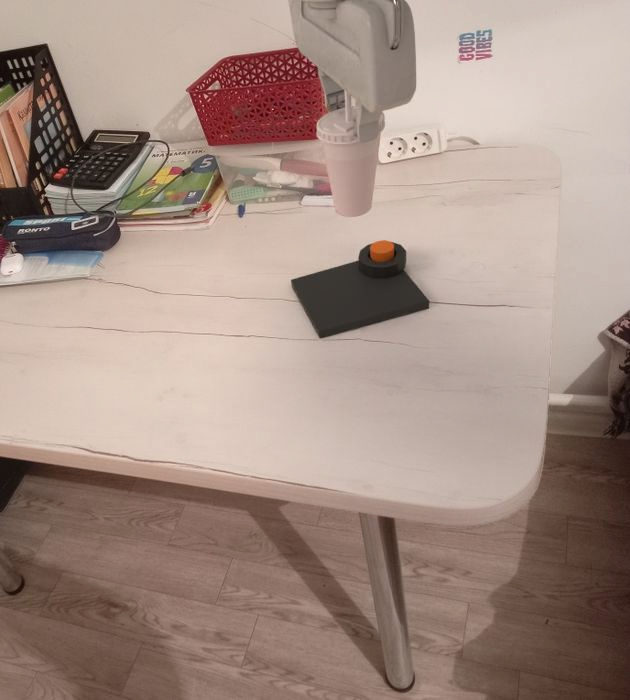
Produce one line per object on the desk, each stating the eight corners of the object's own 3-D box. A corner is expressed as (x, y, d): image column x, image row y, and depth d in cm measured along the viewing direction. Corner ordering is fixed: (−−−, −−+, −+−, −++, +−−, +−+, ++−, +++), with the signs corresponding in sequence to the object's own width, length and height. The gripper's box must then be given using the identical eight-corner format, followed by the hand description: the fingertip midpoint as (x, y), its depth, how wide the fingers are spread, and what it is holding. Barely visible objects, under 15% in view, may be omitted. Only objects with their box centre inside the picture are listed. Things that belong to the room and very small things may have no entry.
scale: (394, 255, 86) (394, 236, 84) (436, 306, 77) (437, 286, 75) (290, 284, 87) (288, 267, 85) (319, 338, 78) (317, 320, 76)
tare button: (388, 247, 84) (388, 237, 83) (398, 258, 81) (397, 249, 80) (366, 253, 84) (366, 244, 83) (375, 265, 82) (375, 255, 81)
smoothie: (317, 224, 65) (306, 91, 56) (327, 192, 69) (319, 64, 60) (381, 224, 62) (380, 84, 53) (388, 190, 66) (389, 56, 57)
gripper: (444, -30, 43) (433, 157, 52) (337, -66, 58) (344, 82, 67) (355, -3, 43) (360, 178, 52) (272, -46, 58) (287, 99, 67)
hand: (350, 123), depth 60 cm, fingers closed on smoothie, 6 cm apart
